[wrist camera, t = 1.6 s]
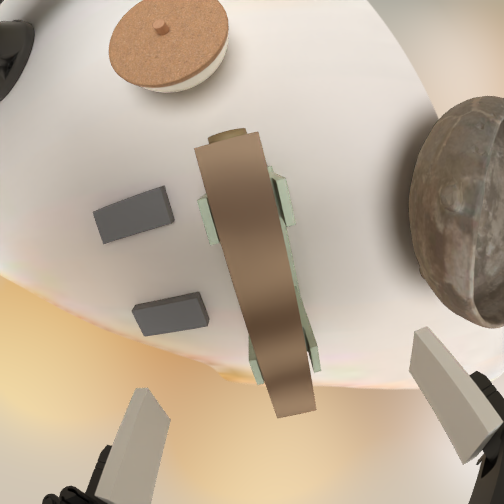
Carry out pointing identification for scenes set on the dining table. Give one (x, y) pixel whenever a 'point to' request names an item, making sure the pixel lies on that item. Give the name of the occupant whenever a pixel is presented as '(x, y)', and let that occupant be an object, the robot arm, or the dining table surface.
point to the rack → (288, 220)
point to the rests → (139, 220)
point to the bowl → (463, 210)
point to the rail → (258, 264)
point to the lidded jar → (169, 43)
